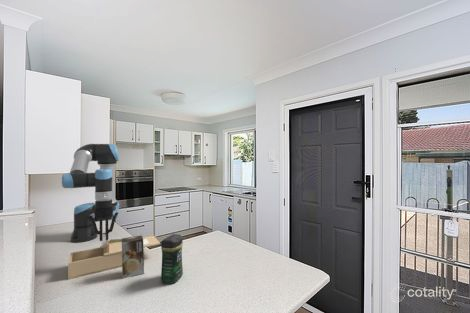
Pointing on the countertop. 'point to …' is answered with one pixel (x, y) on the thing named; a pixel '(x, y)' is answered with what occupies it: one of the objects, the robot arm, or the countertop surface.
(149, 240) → the lid
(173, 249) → the coffee jar
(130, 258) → the coffee box
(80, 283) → the countertop surface
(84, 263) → the box
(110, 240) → the carton
